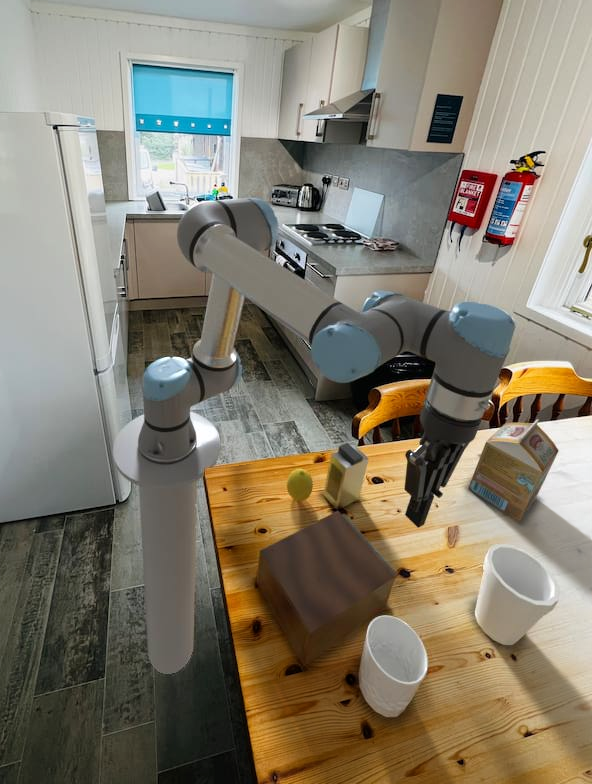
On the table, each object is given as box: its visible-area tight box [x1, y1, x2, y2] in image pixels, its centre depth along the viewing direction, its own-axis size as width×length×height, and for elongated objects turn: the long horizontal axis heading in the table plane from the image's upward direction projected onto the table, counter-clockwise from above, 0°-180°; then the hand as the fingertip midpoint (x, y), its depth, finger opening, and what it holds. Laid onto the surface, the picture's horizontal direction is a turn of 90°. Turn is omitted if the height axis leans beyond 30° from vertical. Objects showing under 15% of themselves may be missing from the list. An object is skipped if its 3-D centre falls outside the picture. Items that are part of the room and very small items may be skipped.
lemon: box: [286, 468, 314, 502], centre depth 86 cm, size 6×6×8 cm
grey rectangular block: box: [322, 442, 370, 511], centre depth 86 cm, size 5×7×13 cm
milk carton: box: [467, 418, 560, 522], centre depth 88 cm, size 11×10×19 cm
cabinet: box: [255, 510, 397, 667], centre depth 67 cm, size 18×14×9 cm
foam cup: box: [474, 543, 561, 646], centre depth 64 cm, size 10×9×13 cm
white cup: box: [357, 615, 429, 718], centre depth 56 cm, size 8×8×10 cm
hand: (414, 519), depth 67 cm, fingers closed
